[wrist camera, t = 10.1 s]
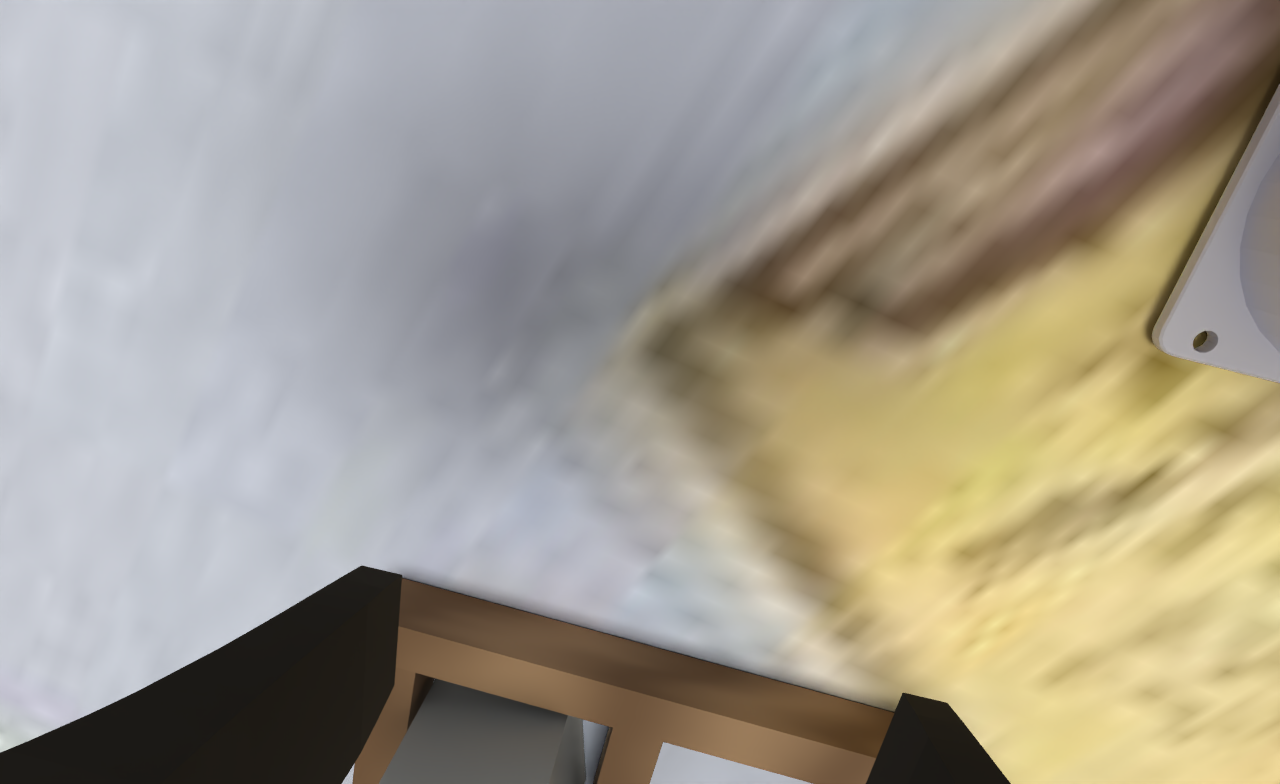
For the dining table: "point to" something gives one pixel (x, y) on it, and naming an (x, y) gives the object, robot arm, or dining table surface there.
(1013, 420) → the dining table surface
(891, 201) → the dining table surface
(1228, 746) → the dining table surface
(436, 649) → the socket board
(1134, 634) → the dining table surface
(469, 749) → the plug
